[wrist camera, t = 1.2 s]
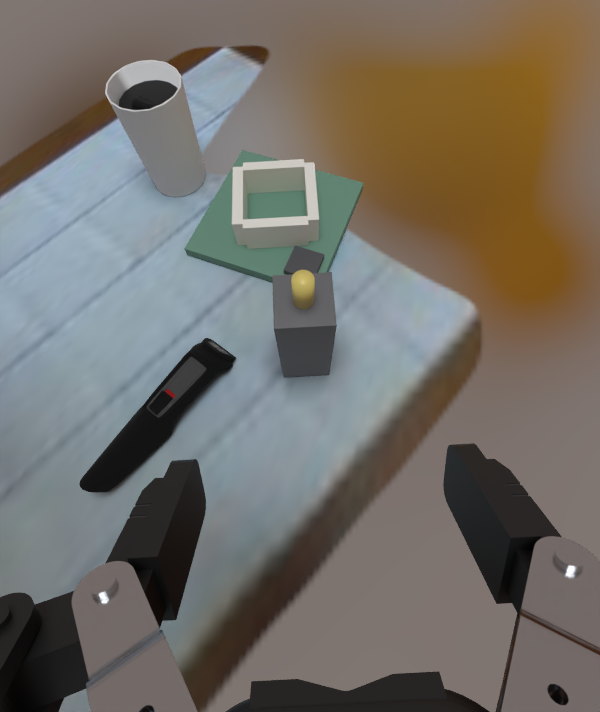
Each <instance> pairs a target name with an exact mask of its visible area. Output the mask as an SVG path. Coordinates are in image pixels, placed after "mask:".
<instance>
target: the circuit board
mask: <svg viewBox="0 0 600 712" xmlns="http://www.w3.org/2000/svg"><path fill="white" fill-rule="evenodd" d="M263 161H280V160H277V159H273V158H270V157H266V156H262V155H258V154H255V153H251V152H247V151H244V150H242V152H241V154H240V156H239V157H238V159H237V161H236V162H235V164H234V166H233V167H242V166H243V163H246V162H263ZM233 167H232V169H231V171H230V172H229V174H228V176H227V177H226V179H225V181H224V183H223V184H222V186H221V188H220V189H219V191H218V193H217V194H216V196H215V198H214V200H213V201H212V203H211V205H210V206H209V208H208V210H207V211H206V213H205V215H204V217H203V218H202V220H201V222H200V223H199V225H198V227H197V228H196V230H195V232H194V234H193V235H192V237H191V239H190V240H189V242H188V244H187V245H186V247H185V251H186V253H187V255H190V256H193V257H196V258H199V259H202V260H205V261H208V262H211V263H214V264H217V265H220V266H224V267H227V268H230V269H233V270H236V271H239V272H242V273H245V274H248V275H251V276H254V277H258V278H261V279H264V280H267V281H270V282H273V277H272V275H290V274H294V273H295V272H297V271H299V270H307V271H310V272H311V273H325V272H328V271H329V269H330V266H331V264H332V261H333V259H334V257H335V254H336V252H337V250H338V247H339V245H340V242H341V240H342V238H343V235H344V233H345V230H346V228H347V226H348V223H349V221H350V218H351V216H352V214H353V211H354V209H355V206H356V204H357V201H358V199H359V197H360V194H361V192H362V189H363V183H361V182H358V181H354V180H351V179H347V178H343V177H340V176H336V175H332V174H328V173H325V172H321V171H317V170H315V177H316V188H317V200H318V212H319V240H318V241H309V245H307V246H296V245H295V246H290V247H272V248H255V249H248V248H247V245H237V241H236V238H235V234H234V231H233V227H232V184H233ZM296 216H306V202H305V190H302V191H284V192H267V193H249V194H248V219H261V218H278V217H296Z"/></svg>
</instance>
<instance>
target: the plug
mask: <svg viewBox="0 0 600 712" xmlns="http://www.w3.org/2000/svg"><path fill="white" fill-rule="evenodd" d="M272 277H273V312H274V331H275V336H276V341H277V346H278V351H279V356H280V361H281V366H282V371H283V376H284V377H301V376H319V375H329V372H330V365H331V359H332V352H333V345H334V339H335V332H336V326H337V325H336V315H335V304H334V294H333V283H332V273H331V272H325V273H311V272H310V271H307V270H299V271H297V272H295V273H294V274H290V275H272Z"/></svg>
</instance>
